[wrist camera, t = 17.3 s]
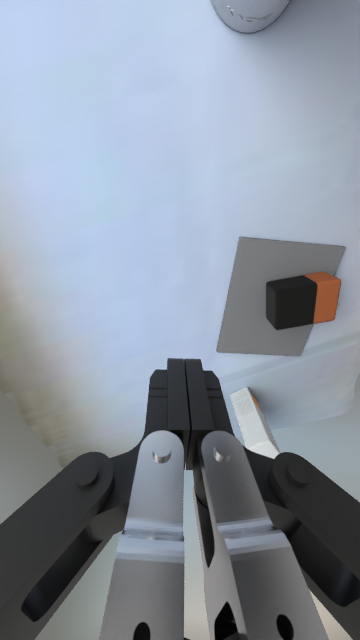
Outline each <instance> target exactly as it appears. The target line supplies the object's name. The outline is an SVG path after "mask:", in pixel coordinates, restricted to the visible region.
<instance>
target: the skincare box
mask: <svg viewBox="0 0 360 640" xmlns="http://www.w3.org/2000/svg"><path fill="white" fill-rule="evenodd" d="M230 398H231V401H232V404H233V407H234V411H235V414H236V417H237V420H238V423H239V426H240V430H241V433H242V436H243V439H244V442H245V445H246V448H247V449H249V450H250V451H252V452H255V453H258V454H261V455H264V456H267V457H270V458H273V459H275V457H276V456H277V455H278V454H280V451H279V448H278V446H277V444H276V442H275V440H274V437H273V435H272V433H271V431H270V428H269V426H268V424H267V422H266V419H265V417H264V415H263V413H262V410H261V408H260V406H259V403H258V402H257V401H256V399H255V398H254V397H253V395H252V394H251V392H250V391H249V389H248V388H247V387H245V388H243V389H241V390H239V391H237V392H234V393H232V394H230Z"/></svg>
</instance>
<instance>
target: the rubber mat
mask: <svg viewBox="0 0 360 640" xmlns="http://www.w3.org/2000/svg"><path fill="white" fill-rule="evenodd" d="M345 248H346V247H344V246H333V245H322V244H311V243H300V242H289V241H279V240H268V239H257V238H246V237H239V242H238V247H237V252H236V257H235V262H234V267H233V272H232V276H231V281H230V286H229V291H228V296H227V301H226V306H225V311H224V316H223V321H222V326H221V330H220V335H219V340H218V345H217V350H216V351H217V352H223V353H244V354H264V355H285V356H300V355H301V353H302V350H303V348H304V346H305V343H306V341H307V339H308V336H309V334H310V332H311V329H312V327H313V324H311V325H305V326H299V327H294V328H288V329H282V330H276V329H275V328H274V327H273V326H272V325H271V323H270V322H269V321H268V320H267V318H266V283H267V282H269V281H274V280H279V279H284V278H290V277H295V276H301V275H306V274H312V273H317V272H326V273H328V274H330V275H332V276H334V275H335V272H336V270H337V267H338V265H339V263H340V260H341V258H342V256H343V253H344V251H345Z"/></svg>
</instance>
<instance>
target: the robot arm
mask: <svg viewBox="0 0 360 640" xmlns="http://www.w3.org/2000/svg"><path fill="white" fill-rule="evenodd" d="M289 1H290V0H211V3H212V5H213V7H214V9H215V10H216V12H217V14H218V16H219V17H220V18H221V19H222V20H223V21H224V23H225V24H227V25H228V26H229V27H231V28H232V29H234V30H236V31H239V32H242V33H253V32H256V31H259V30H262V29H264V28H265V27H267V26H269V25H270V24H271V23H272V22H274V21H275V20H276V19H277V18H278V17H279V16H280V14H281V13H282V12H283V10H284V9H285V7H286V6H287V4H288V3H289ZM185 463H186V470H193V475H194V487H193V498H194V505H195V513H196V519H197V526H198V533H199V540H200V546H201V554H202V561H203V568H204V593H205V604H206V611H207V618H208V626H209V633H210V640H329V639H328V636H327V634H326V631H325V629H324V626H323V624H322V621H321V619H320V616H319V614H318V611H317V609H316V606H315V604H314V602H313V599H312V596H311V594H310V591H311V592H312V593H313V594H314V595H315V596H316V597H317V598H318V600H319V601H320V602H321V603H322V604H323V605H324V607H325V608H326V609H327V610H328V611H329V612H330V613H331V615H333V617H334V618H335V619H336V620H337V622H338V623H339V624H340V625H341V626H342V627H343V628H344V630H345V631H346V632H347V633H348V634H349V635H350V637H351V638H352V639H353V640H360V503H359V502H358V501H357V500H356V499H354V498H353V497H352V496H351V495H349V494H348V493H347V492H346V491H344V490H343V489H342V488H341V487H339V486H338V485H337V484H336V483H334V482H333V481H332V480H331V479H329V478H328V477H327V476H326V475H324V474H323V473H322V472H320V471H319V470H318V469H317V468H316V467H314V466H313V465H312V464H311V463H309V462H308V461H307V460H305V459H304V458H303V457H301V456H299V455H297V454H294V453H289V452H284V453H280V454H278V455H277V456H276V457H275V459H273V458H270V457H267V456H264V455H261V454H258V453H255V452H252V451H250V450H249V449H247V448H245V447H244V446H243V445H242V444H241V443H240V441H239V440H238V439H237V438H236V437H235V435H234V433H233V430H232V427H231V423H230V419H229V416H228V412H227V408H226V405H225V401H224V399H223V394H222V391H221V386H220V382H219V379H218V378H217V377H216V375H215V374H214V373H213V372H212V371H203V368H202V363H201V360H200V359H175V358H168V361H167V370H155V371H154V373H153V374H152V376H151V377H150V384H149V394H148V404H147V415H146V425H145V432H144V436H143V438H142V440H141V441H140V443H139V444H138V445H137V446H136V447H135V448H133V449H132V450H130V451H129V452H126V453H124V454H121V455H118V456H115V457H112V458H108V457H107V456H106V455H105V454H103V453H100V452H89V453H85V454H83V455H81V456H79V457H77V458H76V459H75V460H73V461H72V462H71V463H70V464H69V465H67V466H66V467H65V468H64V469H63V470H62V471H61V472H60V473H58V474H57V475H56V476H55V477H54V478H53V479H52V480H51V481H49V482H48V483H47V484H46V485H45V486H44V487H43V488H41V489H40V490H39V491H38V492H37V493H36V494H34V495H33V496H32V497H31V498H30V499H29V500H28V501H27V502H25V503H24V504H23V505H22V506H21V507H20V508H19V509H17V510H16V511H15V512H14V513H13V514H12V515H11V516H9V517H8V518H7V519H6V520H5V521H4V522H3V523H1V524H0V640H34V639H35V638H36V637H37V635H38V634H39V633H40V632H41V630H42V629H43V628H44V626H45V625H46V624H47V622H48V621H49V619H50V618H51V617H52V616H53V614H54V613H55V612H56V610H57V609H58V608H59V606H60V605H61V604H62V602H63V601H64V599H65V598H66V597H67V596H68V594H69V593H70V592H71V590H72V589H73V588H74V586H75V585H76V584H77V582H78V581H79V580H80V579H81V577H82V576H83V575H84V573H85V572H86V570H87V569H88V568H89V567H90V565H91V564H92V562H93V561H94V560H95V559H96V557H97V556H98V554H99V553H100V552H101V551H102V549H103V548H104V547H105V545H106V543H108V541H109V540H110V539H111V537H112V536H113V535H114V534H116V533H118V532H120V531H122V530H123V532H122V534H121V536H120V540H119V543H118V548H117V552H116V557H115V562H114V567H113V572H112V577H111V582H110V587H109V592H108V597H107V602H106V607H105V612H104V617H103V622H102V627H101V632H100V637H99V640H189V639H187V638H184V536H183V484H184V483H183V482H184V469H185ZM308 588H309V589H310V591H309V589H308Z"/></svg>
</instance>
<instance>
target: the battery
mask: <svg viewBox="0 0 360 640" xmlns="http://www.w3.org/2000/svg"><path fill="white" fill-rule="evenodd" d="M340 285H341V280H340V279H339V278H337V277H334V276H332V275H330V274H328V273H326V272H317V273H312V274H306V275H301V276H295V277H290V278H284V279H279V280H274V281H269V282H267V283H266V318H267V320H268V321H269V322H270V323H271V325H272V326H273V327H274V328H275V329H276V330H282V329H288V328H294V327H299V326H305V325H311V324H316V323H322V322H328V321H333V320H334V319H335V315H336V310H337V308H338V307H339V305H338V297H339V291H340Z"/></svg>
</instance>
